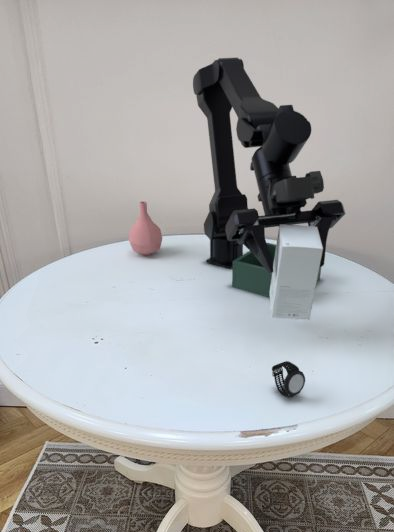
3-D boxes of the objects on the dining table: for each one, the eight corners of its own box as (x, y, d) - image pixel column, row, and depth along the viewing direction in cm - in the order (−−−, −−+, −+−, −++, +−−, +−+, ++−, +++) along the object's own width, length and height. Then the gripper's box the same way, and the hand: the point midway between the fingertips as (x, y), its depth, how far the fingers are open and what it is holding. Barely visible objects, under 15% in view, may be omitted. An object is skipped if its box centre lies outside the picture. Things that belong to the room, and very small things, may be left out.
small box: (309, 320, 87) (324, 248, 79) (270, 318, 87) (281, 246, 79) (305, 294, 93) (317, 225, 85) (268, 292, 94) (278, 223, 86)
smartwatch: (279, 405, 76) (281, 376, 73) (268, 384, 80) (270, 356, 77) (307, 401, 76) (310, 372, 74) (295, 380, 81) (298, 353, 78)
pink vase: (154, 244, 129) (151, 195, 122) (169, 255, 123) (166, 203, 117) (124, 251, 126) (120, 201, 119) (138, 262, 120) (134, 210, 114)
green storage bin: (231, 286, 108) (232, 261, 105) (262, 265, 117) (263, 241, 114) (292, 303, 102) (294, 276, 99) (319, 280, 110) (322, 255, 107)
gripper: (232, 157, 78) (256, 256, 75) (348, 147, 82) (374, 241, 79) (216, 195, 88) (236, 283, 85) (319, 185, 92) (341, 269, 89)
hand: (296, 269), depth 84 cm, fingers closed on small box, 8 cm apart
